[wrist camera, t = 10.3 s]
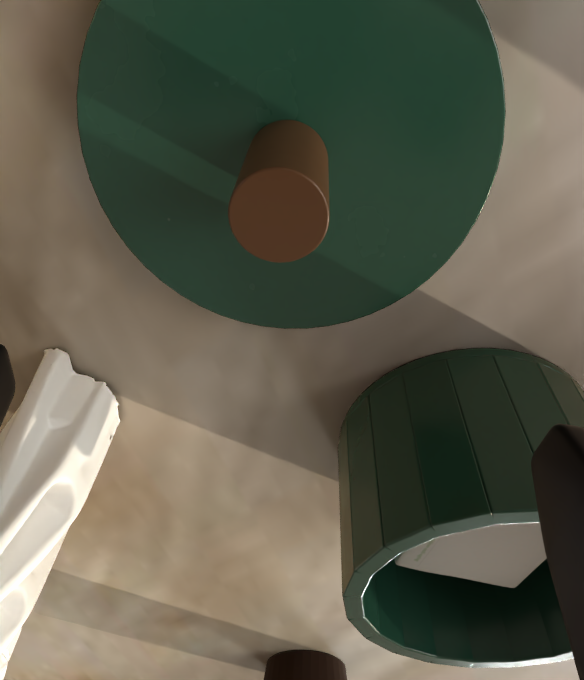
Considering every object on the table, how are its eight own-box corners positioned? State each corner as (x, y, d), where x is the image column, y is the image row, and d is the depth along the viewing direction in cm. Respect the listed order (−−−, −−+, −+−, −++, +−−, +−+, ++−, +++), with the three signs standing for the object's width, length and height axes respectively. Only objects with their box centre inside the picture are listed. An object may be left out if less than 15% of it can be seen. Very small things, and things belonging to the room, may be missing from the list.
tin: (644, 370, 21) (772, 539, 15) (523, 524, 28) (578, 681, 22) (372, 327, 20) (393, 486, 14) (318, 496, 27) (317, 650, 21)
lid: (574, -59, 13) (695, -62, 8) (419, 332, 20) (444, 431, 16) (69, -164, 12) (-66, -222, 8) (105, 283, 19) (47, 373, 15)
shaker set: (75, 512, 29) (-31, 755, 20) (0, 489, 28) (-146, 734, 19) (140, 380, 22) (24, 656, 14) (45, 342, 21) (-146, 615, 13)
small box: (427, 392, 21) (450, 490, 18) (551, 419, 22) (600, 520, 18) (380, 473, 25) (391, 570, 21) (488, 495, 25) (518, 593, 22)
